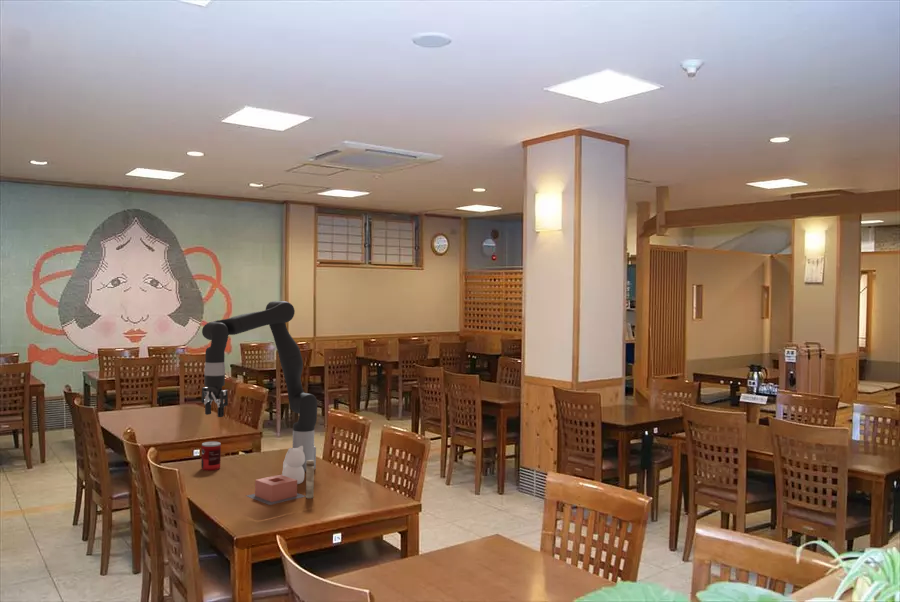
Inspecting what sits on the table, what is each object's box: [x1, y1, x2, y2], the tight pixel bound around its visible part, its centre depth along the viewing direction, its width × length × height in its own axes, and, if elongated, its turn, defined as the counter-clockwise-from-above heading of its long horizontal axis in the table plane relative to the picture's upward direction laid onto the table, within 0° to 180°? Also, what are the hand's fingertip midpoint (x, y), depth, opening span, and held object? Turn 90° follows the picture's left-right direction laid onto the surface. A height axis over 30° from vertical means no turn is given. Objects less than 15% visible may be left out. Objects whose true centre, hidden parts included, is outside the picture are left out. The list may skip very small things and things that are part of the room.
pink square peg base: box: [254, 474, 298, 502], centre depth 261 cm, size 11×11×6 cm
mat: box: [246, 492, 306, 506], centre depth 261 cm, size 16×16×1 cm
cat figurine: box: [281, 446, 306, 485], centre depth 281 cm, size 9×12×15 cm
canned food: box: [200, 441, 222, 472], centre depth 302 cm, size 8×8×11 cm
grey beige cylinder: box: [305, 460, 315, 500], centre depth 260 cm, size 3×3×14 cm
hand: (214, 415), depth 270 cm, fingers open, 8 cm apart
